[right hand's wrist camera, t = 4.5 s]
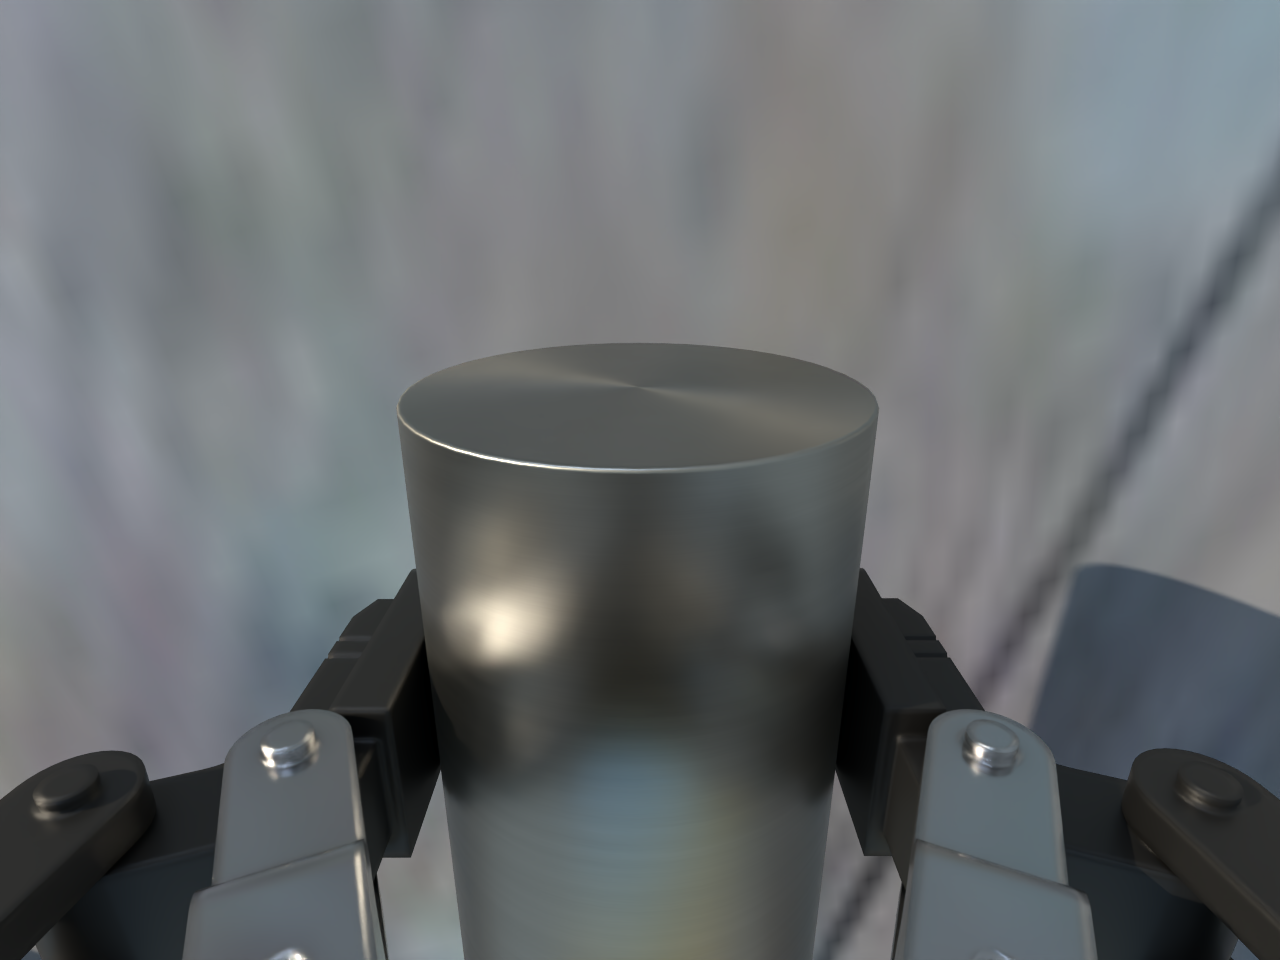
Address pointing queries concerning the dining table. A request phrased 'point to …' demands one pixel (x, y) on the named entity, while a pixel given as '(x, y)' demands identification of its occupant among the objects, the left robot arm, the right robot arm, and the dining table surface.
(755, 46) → the dining table surface
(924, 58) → the dining table surface
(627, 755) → the rod
